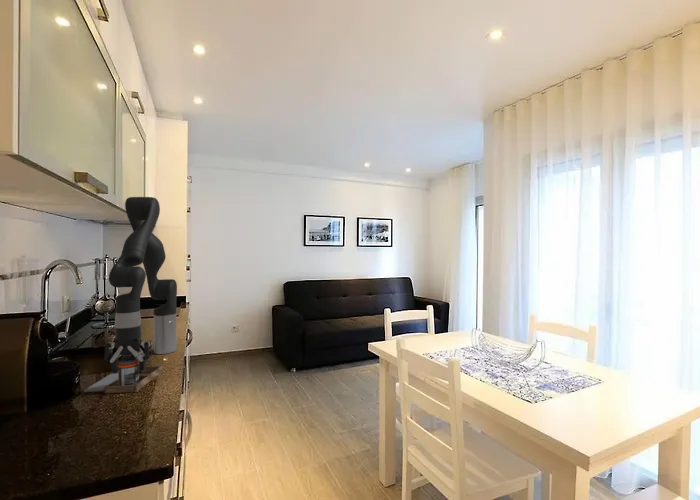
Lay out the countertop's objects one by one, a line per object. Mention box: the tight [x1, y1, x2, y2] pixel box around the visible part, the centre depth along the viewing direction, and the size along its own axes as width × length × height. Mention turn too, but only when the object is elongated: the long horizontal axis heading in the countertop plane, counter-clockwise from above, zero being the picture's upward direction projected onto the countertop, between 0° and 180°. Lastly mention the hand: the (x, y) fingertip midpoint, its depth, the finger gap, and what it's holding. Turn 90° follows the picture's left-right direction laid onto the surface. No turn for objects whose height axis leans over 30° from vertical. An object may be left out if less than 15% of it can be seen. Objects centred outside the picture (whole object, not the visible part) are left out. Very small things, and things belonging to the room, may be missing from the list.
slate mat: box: [83, 372, 118, 393], centre depth 123 cm, size 16×6×1 cm, turn 6°
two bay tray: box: [104, 365, 164, 394], centre depth 124 cm, size 20×10×2 cm, turn 6°
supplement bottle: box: [117, 354, 140, 386], centre depth 119 cm, size 6×6×11 cm
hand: (128, 372), depth 119 cm, fingers open, 8 cm apart
